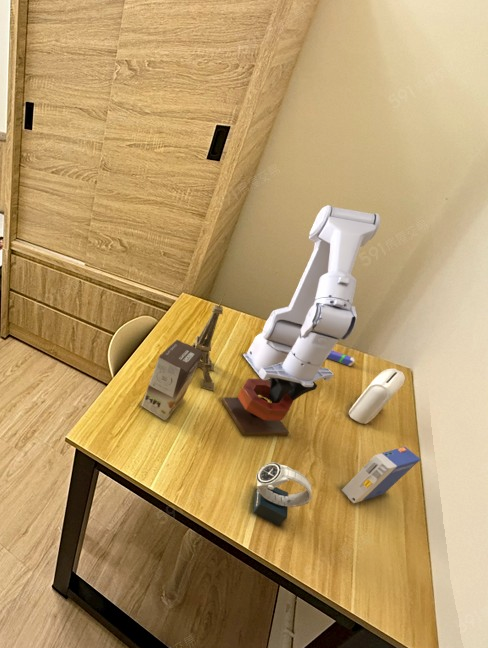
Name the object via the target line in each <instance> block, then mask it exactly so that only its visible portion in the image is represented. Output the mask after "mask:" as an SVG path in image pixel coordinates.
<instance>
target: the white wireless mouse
mask: <svg viewBox="0 0 488 648" xmlns="http://www.w3.org/2000/svg"><path fill="white" fill-rule="evenodd" d="M405 381H406V377H405V374H404V373H403V371H402V370H398V368H393V367H392V368H386V369H384V370H382V371H381V372H379V373H378V375H377V376H375V377H374V379H372V381H371V382H370V383H369V385H368V386H367V387H366V388H365V390H364V391H363V392H362V393H361V395H360V396H359V397H358V398H357V399H356V401H355V402H354V404H352V406H351V407H350V409H349V411H348V413H347V414H348V415H349V417H350V418H351V419H352V420H354V421H355V422H357V423H360V424H363V425H366V424H368V423H370V422H371V421H373V419H374V418H375V417H376V416H377V415H378V414H379V413H380V412H381V410H382V409H383V408H384V407H385V406H386V405H387V403H388V402H389V401H390V400H391V399H392V398H393V397H394V396H395V395H396V393H398V391H399V390H400V389H401V387H402V386H403V385H404V383H405Z"/></svg>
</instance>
